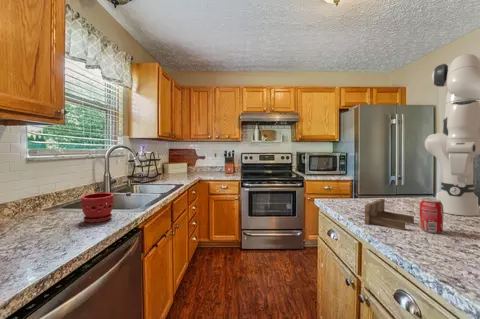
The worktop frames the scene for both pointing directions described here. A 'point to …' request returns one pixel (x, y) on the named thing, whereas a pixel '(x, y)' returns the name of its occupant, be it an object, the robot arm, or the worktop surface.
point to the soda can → (431, 215)
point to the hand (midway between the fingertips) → (462, 186)
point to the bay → (385, 216)
